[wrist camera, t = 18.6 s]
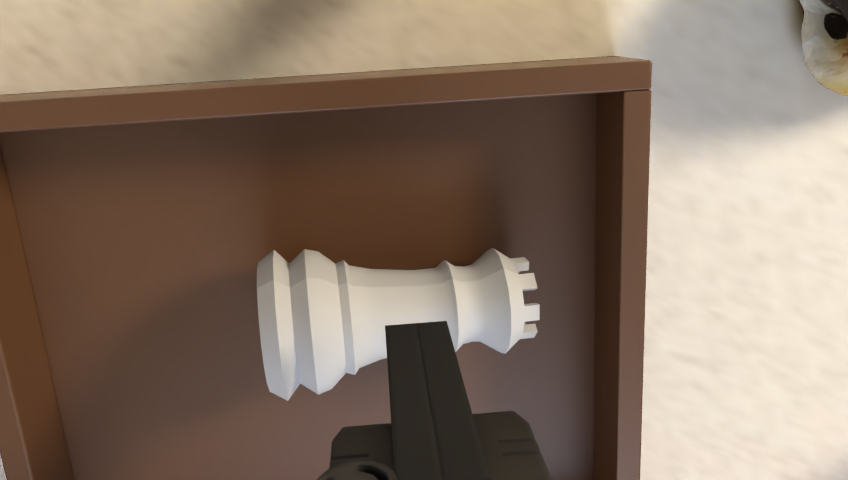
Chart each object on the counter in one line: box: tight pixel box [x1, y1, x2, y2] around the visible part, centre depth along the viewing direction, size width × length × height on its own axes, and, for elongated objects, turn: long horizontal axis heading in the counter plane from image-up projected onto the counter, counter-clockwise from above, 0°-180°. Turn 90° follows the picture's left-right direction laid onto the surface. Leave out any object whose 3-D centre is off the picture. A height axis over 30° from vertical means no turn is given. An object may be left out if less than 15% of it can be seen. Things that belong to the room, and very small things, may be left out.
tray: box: [0, 56, 652, 480], centre depth 24 cm, size 18×20×3 cm
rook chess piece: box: [257, 248, 540, 401], centre depth 22 cm, size 4×4×8 cm
